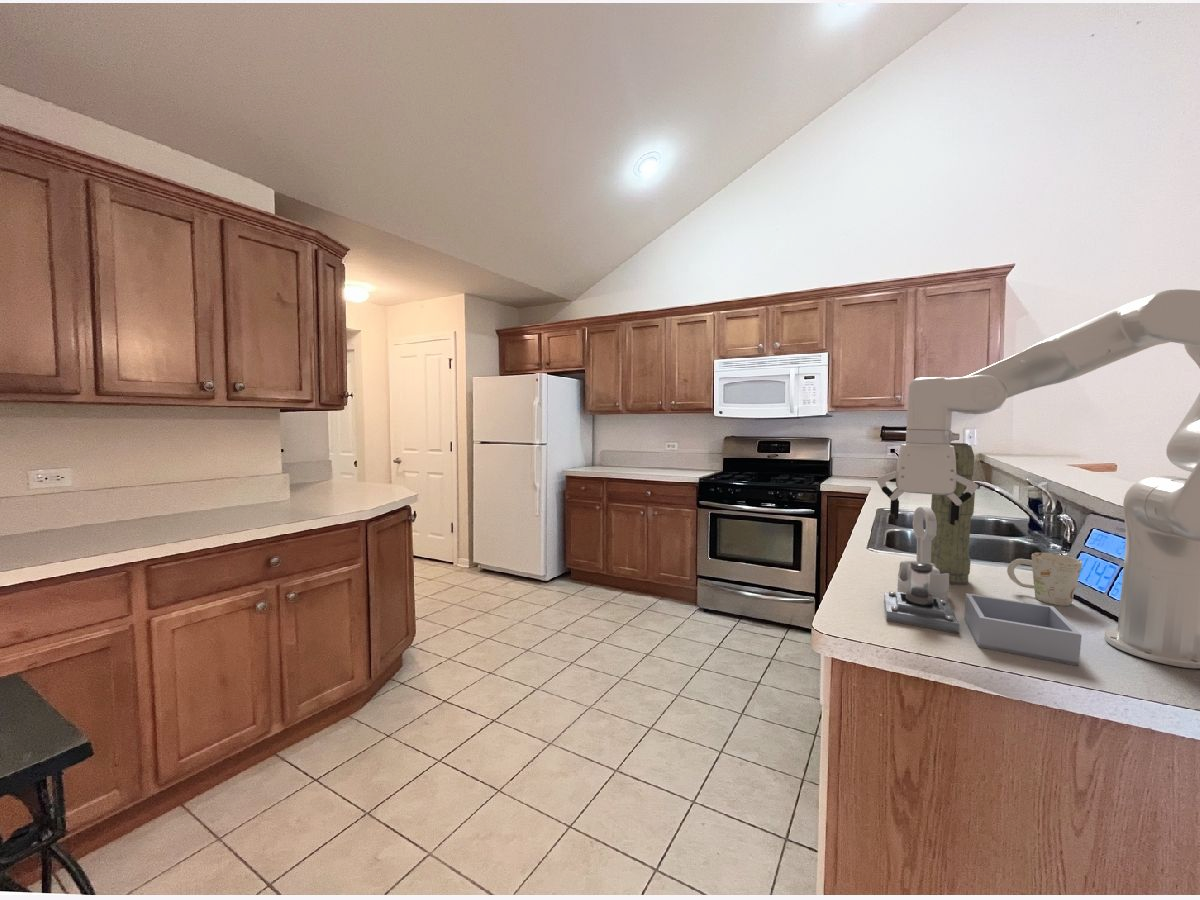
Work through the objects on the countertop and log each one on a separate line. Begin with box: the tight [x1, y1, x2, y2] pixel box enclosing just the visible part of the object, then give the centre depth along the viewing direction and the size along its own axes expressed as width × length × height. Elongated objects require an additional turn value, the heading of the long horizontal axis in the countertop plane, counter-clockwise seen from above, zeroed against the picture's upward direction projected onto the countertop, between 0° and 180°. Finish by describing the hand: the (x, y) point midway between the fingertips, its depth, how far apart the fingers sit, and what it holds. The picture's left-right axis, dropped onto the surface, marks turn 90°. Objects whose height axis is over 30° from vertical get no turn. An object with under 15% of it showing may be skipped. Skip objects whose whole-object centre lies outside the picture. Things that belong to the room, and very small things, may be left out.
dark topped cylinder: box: [905, 562, 933, 608], centre depth 101 cm, size 5×5×9 cm
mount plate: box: [883, 590, 960, 634], centre depth 101 cm, size 12×12×3 cm
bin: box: [963, 592, 1082, 667], centre depth 90 cm, size 14×14×6 cm
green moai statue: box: [930, 442, 976, 586], centre depth 123 cm, size 9×12×35 cm
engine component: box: [896, 506, 950, 602], centre depth 113 cm, size 11×20×10 cm
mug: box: [1006, 552, 1083, 607], centre depth 111 cm, size 8×13×10 cm, turn 41°
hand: (922, 520), depth 100 cm, fingers open, 9 cm apart
